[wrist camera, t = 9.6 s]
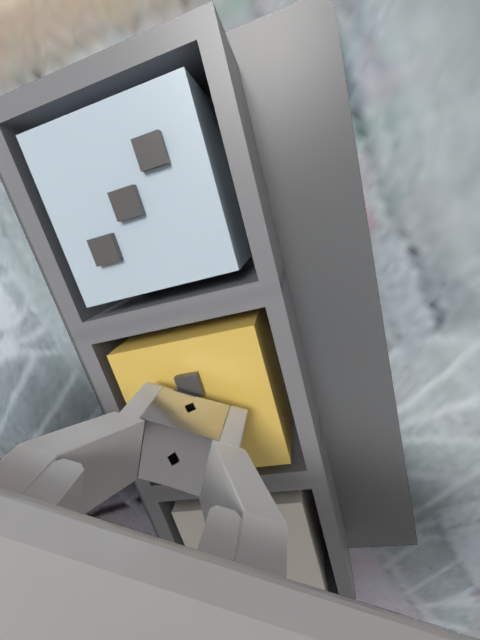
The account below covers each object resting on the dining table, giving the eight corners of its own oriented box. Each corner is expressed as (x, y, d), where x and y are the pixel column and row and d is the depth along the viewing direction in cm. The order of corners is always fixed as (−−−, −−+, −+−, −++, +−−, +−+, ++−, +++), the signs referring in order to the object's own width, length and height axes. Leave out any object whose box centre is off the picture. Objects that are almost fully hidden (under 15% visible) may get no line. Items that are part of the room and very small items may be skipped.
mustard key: (185, 422, 14) (154, 482, 11) (148, 322, 13) (102, 358, 10) (292, 407, 13) (291, 468, 10) (263, 296, 12) (253, 328, 9)
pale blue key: (134, 284, 12) (82, 309, 9) (87, 153, 11) (9, 134, 8) (253, 254, 11) (237, 271, 8) (215, 106, 10) (180, 62, 7)
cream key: (224, 530, 15) (207, 609, 12) (195, 452, 14) (169, 517, 11) (322, 525, 14) (329, 608, 11) (300, 439, 13) (301, 508, 10)
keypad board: (172, 537, 18) (138, 630, 14) (4, 140, 13) (-129, 110, 9) (410, 524, 15) (449, 634, 11) (328, 8, 10) (350, -125, 6)
